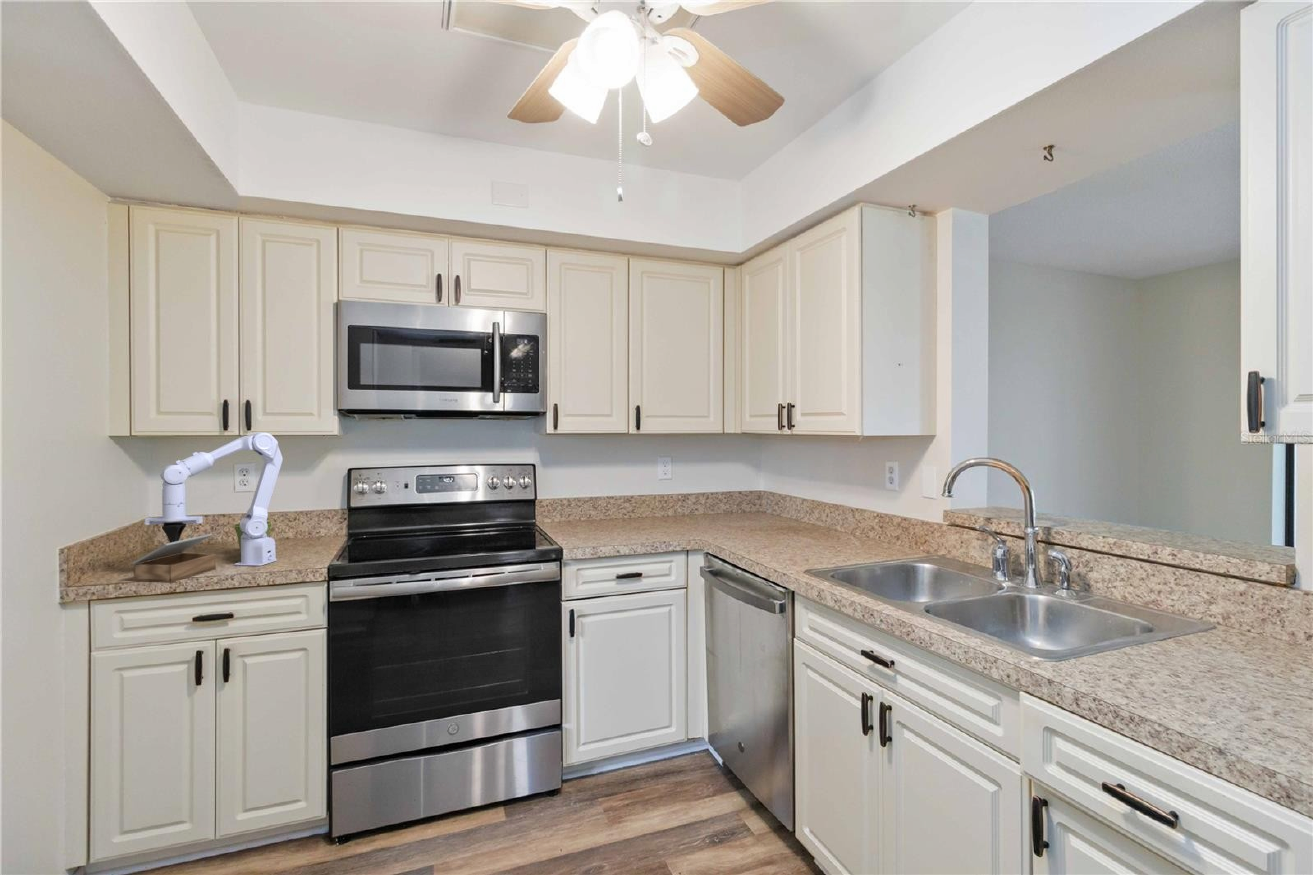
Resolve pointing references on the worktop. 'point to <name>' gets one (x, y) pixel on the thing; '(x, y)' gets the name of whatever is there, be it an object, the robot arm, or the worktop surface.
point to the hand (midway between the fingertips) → (174, 547)
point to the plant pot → (240, 533)
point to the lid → (172, 548)
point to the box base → (174, 567)
